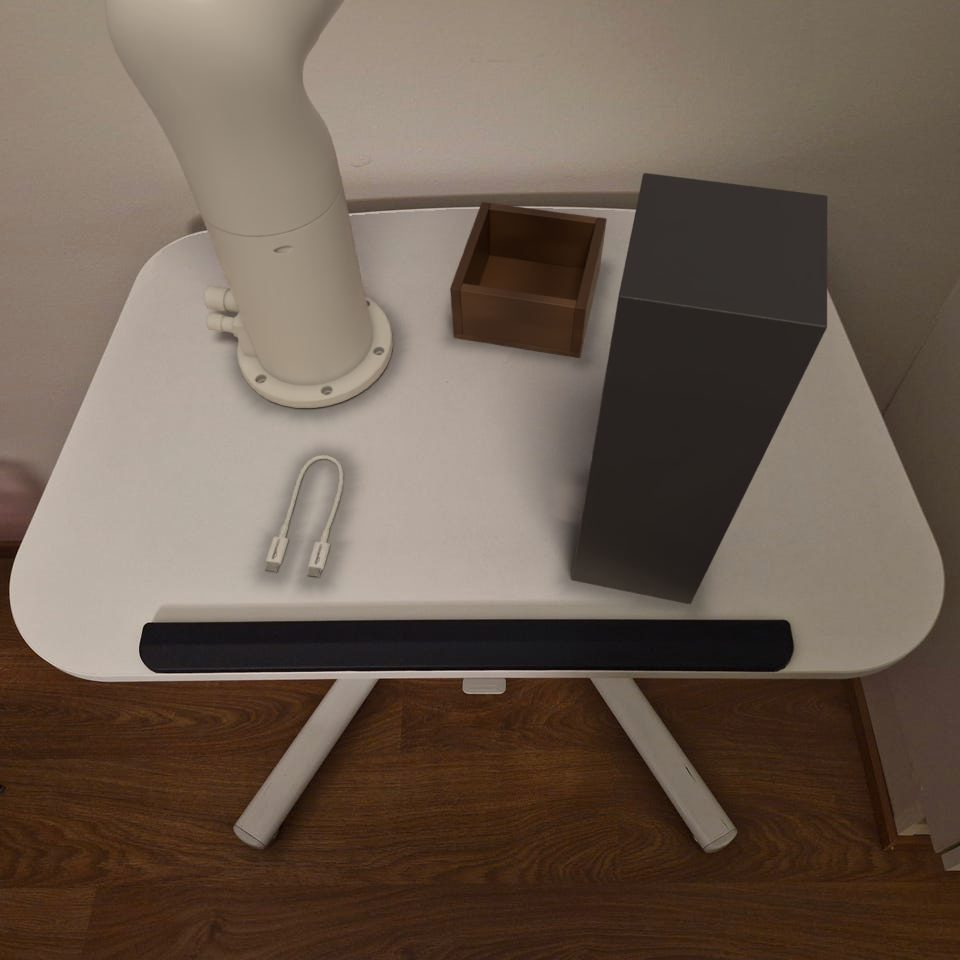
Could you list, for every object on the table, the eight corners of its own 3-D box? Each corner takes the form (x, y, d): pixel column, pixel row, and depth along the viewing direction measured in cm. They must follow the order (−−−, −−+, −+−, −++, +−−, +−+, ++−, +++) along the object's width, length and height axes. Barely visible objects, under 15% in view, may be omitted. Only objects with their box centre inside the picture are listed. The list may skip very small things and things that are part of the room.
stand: (571, 580, 53) (618, 296, 31) (589, 482, 57) (643, 172, 35) (690, 604, 52) (828, 327, 30) (701, 503, 56) (828, 194, 34)
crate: (453, 337, 65) (449, 288, 60) (483, 252, 71) (481, 201, 66) (579, 358, 64) (585, 309, 59) (599, 269, 69) (606, 218, 64)
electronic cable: (263, 571, 54) (262, 568, 53) (302, 454, 59) (300, 450, 58) (321, 578, 53) (319, 575, 53) (354, 460, 58) (353, 456, 58)
